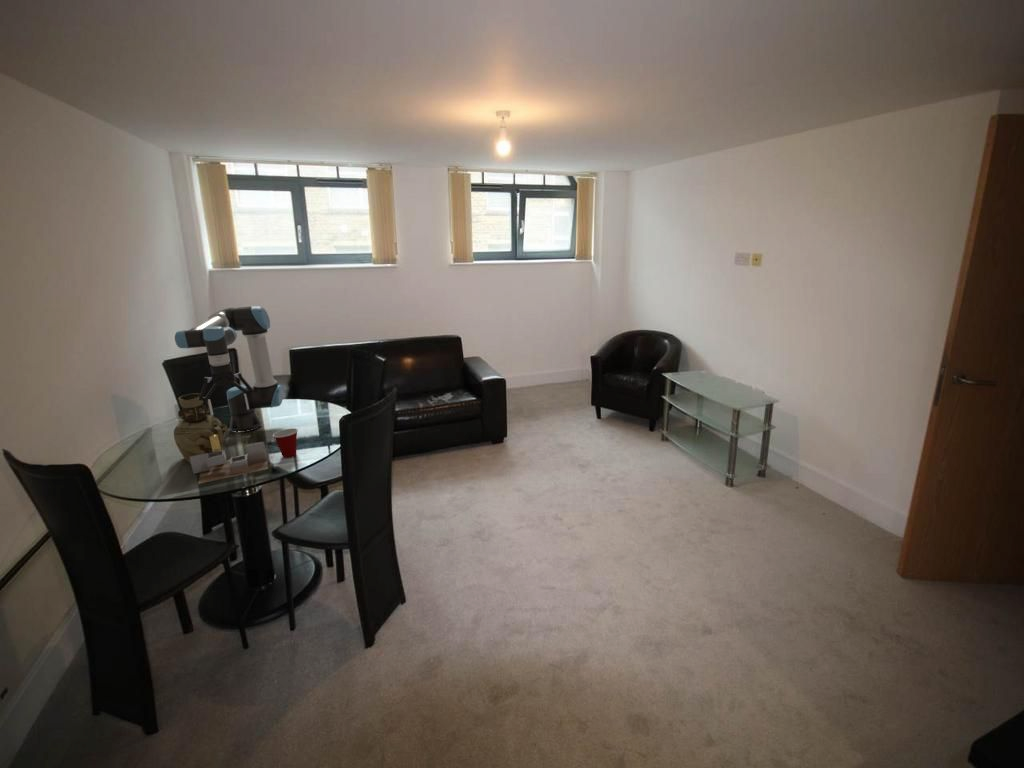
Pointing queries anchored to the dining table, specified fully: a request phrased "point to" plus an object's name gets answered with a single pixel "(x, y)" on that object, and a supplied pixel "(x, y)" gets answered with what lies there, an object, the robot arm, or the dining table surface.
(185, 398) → the ceramic vessel
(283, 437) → the plastic cup
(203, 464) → the flanged square frame
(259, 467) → the board
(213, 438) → the pin
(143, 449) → the dining table surface
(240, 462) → the fixed leaf
